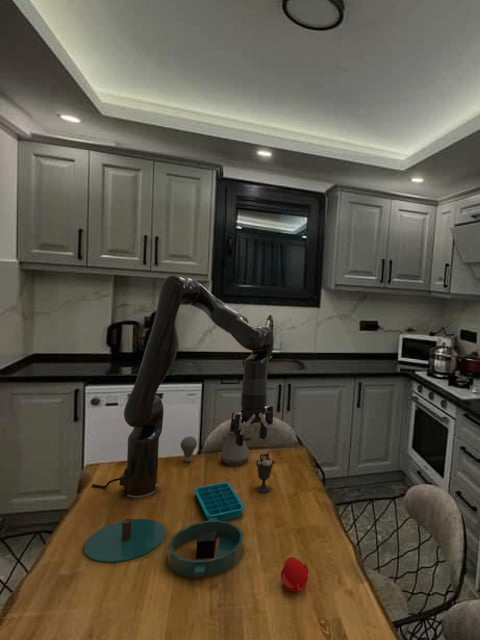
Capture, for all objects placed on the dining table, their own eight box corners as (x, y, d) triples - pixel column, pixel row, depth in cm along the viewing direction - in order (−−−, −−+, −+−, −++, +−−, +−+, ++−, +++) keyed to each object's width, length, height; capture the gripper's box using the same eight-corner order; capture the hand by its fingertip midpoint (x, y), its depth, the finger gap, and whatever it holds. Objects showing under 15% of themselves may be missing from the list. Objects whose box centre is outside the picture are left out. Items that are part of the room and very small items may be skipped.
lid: (69, 567, 107) (70, 544, 107) (100, 523, 126) (101, 503, 126) (155, 562, 112) (156, 540, 111) (172, 520, 131) (173, 501, 130)
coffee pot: (215, 458, 176) (217, 423, 175) (242, 453, 183) (244, 419, 182) (234, 479, 160) (237, 440, 158) (264, 473, 167) (266, 435, 166)
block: (195, 559, 113) (196, 541, 113) (198, 549, 118) (199, 531, 117) (213, 558, 114) (214, 540, 114) (216, 548, 119) (217, 530, 118)
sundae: (270, 494, 151) (273, 453, 150) (251, 492, 151) (253, 451, 150) (275, 485, 158) (277, 446, 156) (256, 484, 158) (259, 444, 156)
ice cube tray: (228, 489, 152) (228, 481, 152) (245, 517, 135) (246, 508, 135) (193, 496, 145) (193, 487, 145) (206, 526, 129) (207, 517, 129)
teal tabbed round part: (156, 589, 102) (157, 571, 102) (178, 531, 126) (179, 516, 125) (238, 583, 107) (239, 566, 106) (245, 528, 130) (245, 514, 130)
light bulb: (199, 460, 174) (200, 436, 173) (188, 465, 168) (189, 440, 167) (187, 457, 175) (188, 433, 175) (176, 462, 170) (177, 437, 169)
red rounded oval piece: (314, 587, 107) (315, 564, 107) (294, 599, 103) (296, 575, 102) (294, 571, 113) (295, 549, 112) (275, 581, 108) (276, 559, 108)
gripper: (265, 385, 140) (262, 433, 141) (227, 391, 129) (224, 444, 130) (280, 390, 136) (277, 439, 137) (242, 397, 124) (239, 451, 126)
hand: (251, 442), depth 134 cm, fingers open, 8 cm apart
